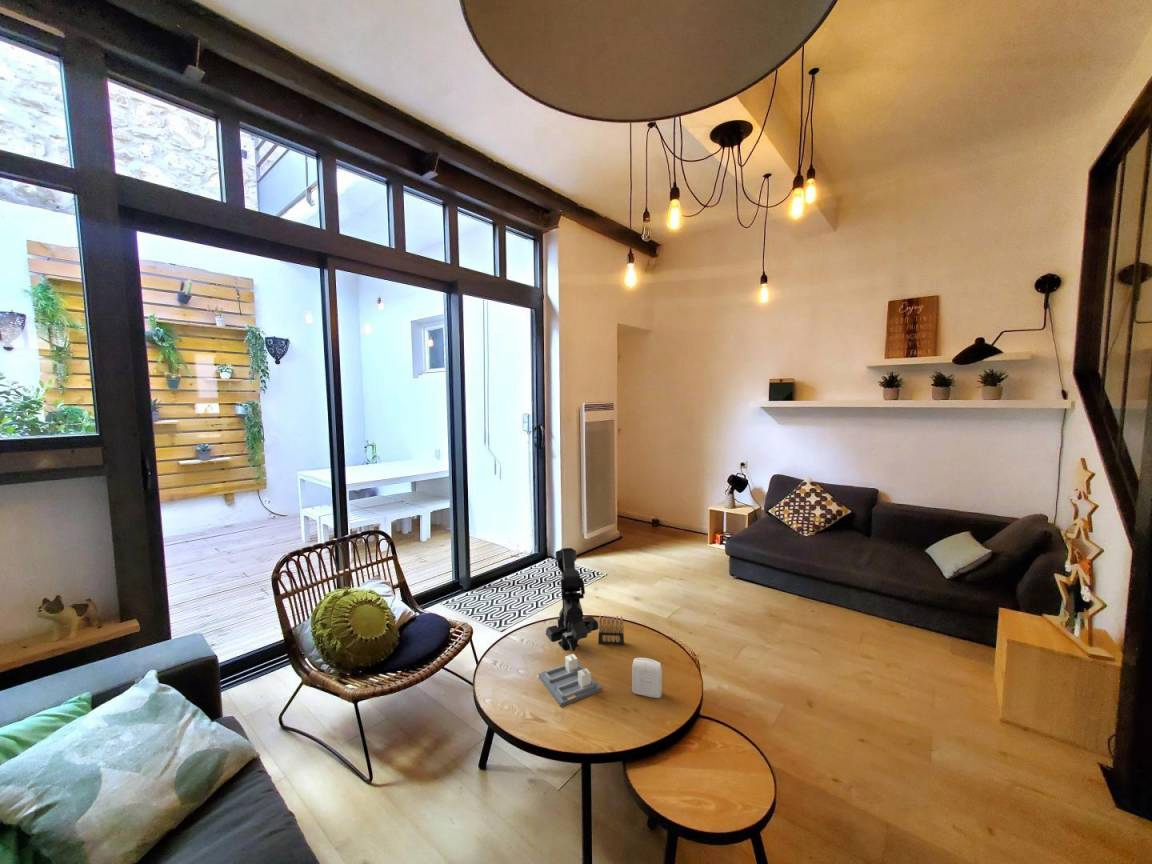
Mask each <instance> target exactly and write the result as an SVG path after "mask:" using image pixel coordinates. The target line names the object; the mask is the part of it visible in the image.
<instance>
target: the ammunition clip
mask: <svg viewBox="0 0 1152 864" xmlns="http://www.w3.org/2000/svg"><path fill="white" fill-rule="evenodd" d="M598 624H599V628H598V629H597V630H598V636H597V637H598V638H597V639H598V641H597V642H598V643H597V644H598V645H610V644H613V645H612V646H624V645H625V636H624V635H625V634H624V633H625V632H624V627H625V626H624V618H623V616H620V619H619V617H618V615H617V616H616V617H614V615H612V616H611V618H610V615H607V617H606V615H603V617H602V616H601V615H599V617H598Z"/></svg>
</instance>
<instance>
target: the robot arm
mask: <svg viewBox="0 0 1152 864" xmlns="http://www.w3.org/2000/svg"><path fill="white" fill-rule="evenodd" d="M577 559H578V558H577V550H576V549H574V548H572V547H563V548H561V549H560V550H557V551H555V563H557V567H558V569H559V570H560V572H561V578H560V593H561V600H562V606H561V609H560V611H559V615H558V619H557V625H556V624H555V625H552V626H548V627H547V628H546V629H545V635H546V636H547V638H548V639H549V640H550V641H551V642H552V643H555V642H557V643H558V645H559V646H560V647H561V648H562V649H563V650H564V651H568V650H571V652H573V653H574V652H575V650H576V648H577V647H579V644H578V642H579V640H582V639H585V638H586V639H587V637H588V634H590V633H591V634H592V632H593V631H597V630H598V628H599V621H598V620H597V619H596V618H594V617H593V616H592V615H589V616H588V615H587V616H585V617H584V612H583V608H582V604H581V599H584V597H585V596H584V595H585V594H586V589H585V583H584V582H585V581H584V580H583V578H582V577H581V576H580V575H581V574H580V572H579V571H578V570H576V564H575V563H576V561H577Z"/></svg>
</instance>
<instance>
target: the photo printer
mask: <svg viewBox="0 0 1152 864" xmlns="http://www.w3.org/2000/svg"><path fill="white" fill-rule="evenodd" d="M632 661H633V662H632V665H631V671H632V672H631V692H632V693H633V694H635V695H639V696H643V697H648V698H649V697H650V698H655V699H661V697H662V695H663V694H662V693H663V686H662V685H663V684H662V682H663V681H662V680H663V668H662V664H661V662H659V661H657V660H654V659H652V658H647V657H635V658H634V659H633V660H632Z"/></svg>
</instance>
